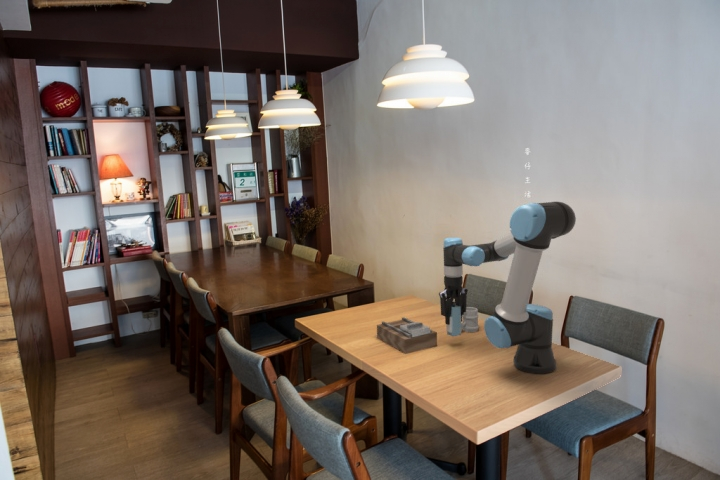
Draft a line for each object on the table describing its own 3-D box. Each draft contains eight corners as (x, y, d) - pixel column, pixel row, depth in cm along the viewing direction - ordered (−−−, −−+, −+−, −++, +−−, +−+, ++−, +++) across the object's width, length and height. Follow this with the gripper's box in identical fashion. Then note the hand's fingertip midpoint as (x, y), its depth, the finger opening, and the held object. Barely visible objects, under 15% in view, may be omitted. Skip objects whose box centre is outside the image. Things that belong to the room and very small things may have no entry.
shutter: (430, 333, 216) (430, 325, 216) (412, 337, 212) (412, 329, 211) (417, 327, 224) (417, 319, 223) (399, 331, 220) (399, 323, 219)
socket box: (436, 346, 219) (436, 329, 218) (405, 353, 211) (405, 336, 210) (407, 331, 238) (407, 316, 237) (377, 338, 230) (376, 322, 229)
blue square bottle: (460, 334, 217) (460, 302, 215) (453, 336, 215) (452, 303, 213) (454, 332, 220) (454, 300, 218) (447, 334, 218) (446, 301, 217)
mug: (482, 330, 237) (482, 304, 235) (463, 335, 230) (463, 309, 228) (470, 326, 243) (470, 301, 241) (451, 331, 237) (451, 305, 235)
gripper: (463, 271, 222) (463, 324, 225) (430, 276, 213) (431, 332, 217) (475, 274, 215) (475, 329, 218) (442, 279, 207) (443, 336, 210)
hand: (453, 330), depth 217 cm, fingers closed on blue square bottle, 4 cm apart
